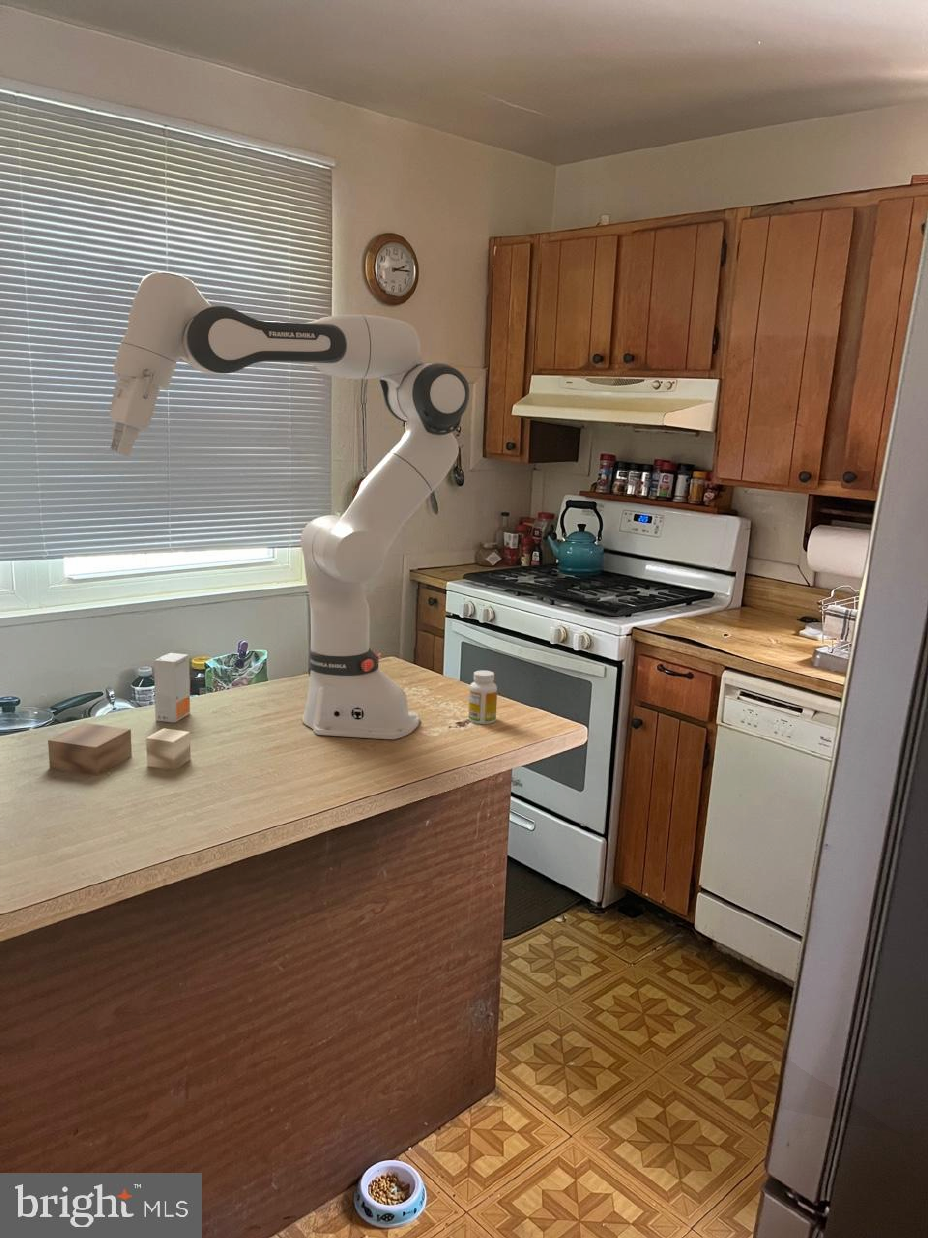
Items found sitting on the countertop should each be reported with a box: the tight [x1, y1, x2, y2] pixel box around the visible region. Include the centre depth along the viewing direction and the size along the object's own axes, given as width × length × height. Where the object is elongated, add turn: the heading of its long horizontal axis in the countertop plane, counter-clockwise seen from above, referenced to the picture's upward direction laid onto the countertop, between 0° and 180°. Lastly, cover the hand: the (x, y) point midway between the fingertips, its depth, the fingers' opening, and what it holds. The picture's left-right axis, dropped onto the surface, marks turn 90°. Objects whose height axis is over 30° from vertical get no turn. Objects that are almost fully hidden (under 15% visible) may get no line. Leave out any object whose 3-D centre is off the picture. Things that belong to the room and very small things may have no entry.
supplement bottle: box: [468, 670, 498, 725], centre depth 175 cm, size 5×5×10 cm
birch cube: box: [145, 728, 192, 771], centre depth 149 cm, size 5×5×5 cm
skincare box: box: [153, 652, 191, 723], centre depth 170 cm, size 6×4×12 cm
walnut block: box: [47, 722, 133, 776], centre depth 148 cm, size 9×9×5 cm
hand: (119, 452), depth 146 cm, fingers open, 8 cm apart
